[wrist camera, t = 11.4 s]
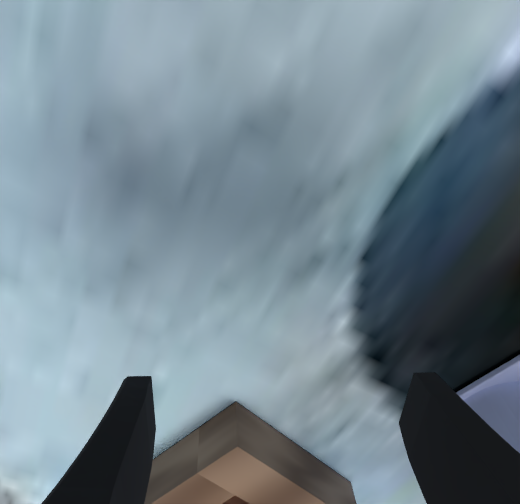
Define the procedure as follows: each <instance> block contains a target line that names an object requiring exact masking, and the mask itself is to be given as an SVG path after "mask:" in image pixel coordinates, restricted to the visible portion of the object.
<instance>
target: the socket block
mask: <svg viewBox="0 0 520 504" xmlns="http://www.w3.org/2000/svg"><path fill="white" fill-rule="evenodd" d="M233 496H237V497H239V498H241V499H242V500H244V501H246V502H247V503H249V504H356V500H355V497H354V493H353V489H352V485H351V482H349V481H348V480H346V479H345V478H344V477H342V476H341V475H339V474H338V473H336V472H335V471H334V470H332V469H331V468H329V467H328V466H327V465H325V464H324V463H322V462H321V461H319V460H318V459H317V458H315V457H314V456H312V455H311V454H309V453H308V452H307V451H305V450H304V449H302V448H301V447H300V446H298V445H297V444H295V443H294V442H292V441H291V440H290V439H288V438H287V437H285V436H284V435H283V434H281V433H280V432H278V431H277V430H275V429H274V428H273V427H271V426H270V425H268V424H267V423H265V422H264V421H263V420H261V419H260V418H258V417H257V416H256V415H254V414H253V413H251V412H250V411H248V410H247V409H246V408H244V407H243V406H241V405H240V404H239V403H237V402H235V403H233V404H232V405H230V406H229V407H228V408H226V409H225V410H223V411H222V412H220V413H219V414H218V415H216V416H215V417H213V418H212V419H210V420H209V421H208V422H206V423H205V424H203V425H202V426H200V427H199V428H198V429H196V430H195V431H193V432H192V433H190V434H189V435H188V436H186V437H185V438H183V439H182V440H180V441H179V442H178V443H176V444H175V445H173V446H172V447H170V448H169V449H168V450H166V451H165V452H163V453H162V454H160V455H159V456H158V457H156V458H155V459H153V460H152V468H151V473H150V478H149V483H148V488H147V493H146V497H145V502H144V504H222V503H224V502H225V501H227V500H229V499H230V498H232V497H233Z"/></svg>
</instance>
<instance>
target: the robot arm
mask: <svg viewBox="0 0 520 504" xmlns="http://www.w3.org/2000/svg"><path fill="white" fill-rule="evenodd" d="M399 425H400V429H401V433H402V437H403V441H404V444H405V448H406V451H407V455H408V458H409V461H410V464H411V466H412V469H413V471H414V474H415V476H416V478H417V481H418V483H419V486H420V488H421V491H422V493H423V496H424V498H425V500H426V503H427V504H520V355H518V356H517V357H515V358H513V359H512V360H510V361H508V362H506V363H505V364H503V365H501V366H500V367H498V368H496V369H495V370H493V371H491V372H490V373H488V374H486V375H485V376H483V377H481V378H480V379H478V380H476V381H475V382H473V383H471V384H470V385H468V386H466V387H465V388H463V389H461V390H459V391H458V392H455V391H453V390H452V389H451V388H450V387H449V386H448V385H447V384H446V383H445V382H444V381H443V380H442V379H441V378H440V377H439V376H438V375H437V374H436V373H414V374H413V378H412V381H411V384H410V388H409V391H408V394H407V398H406V401H405V404H404V408H403V411H402V414H401V417H400V421H399ZM155 431H156V425H155V414H154V402H153V390H152V379H151V376H130V377H127V378H125V379H124V381H123V383H122V385H121V387H120V389H119V391H118V392H117V394H116V396H115V398H114V400H113V402H112V403H111V405H110V407H109V408H108V410H107V412H106V414H105V415H104V417H103V419H102V420H101V422H100V423H99V425H98V426H97V428H96V430H95V431H94V433H93V434H92V436H91V437H90V439H89V440H88V442H87V443H86V445H85V446H84V448H83V449H82V451H81V452H80V454H79V455H78V456H77V458H76V459H75V460H74V462H73V463H72V465H71V466H70V467H69V469H68V470H67V472H66V473H65V474H64V476H63V477H62V478H61V480H60V481H59V482H58V484H57V485H56V486H55V487H54V489H53V490H52V491H51V493H50V494H49V495H48V496H47V498H46V499H45V500H44V501H43V502H42V504H144V502H145V497H146V493H147V488H148V483H149V478H150V473H151V468H152V460H153V451H154V441H155Z"/></svg>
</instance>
